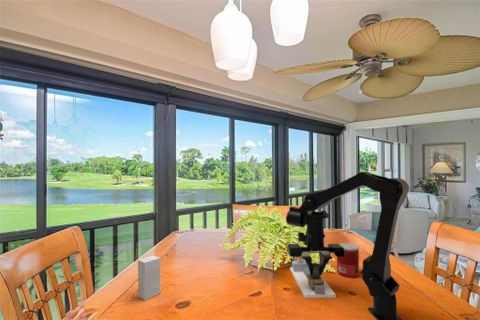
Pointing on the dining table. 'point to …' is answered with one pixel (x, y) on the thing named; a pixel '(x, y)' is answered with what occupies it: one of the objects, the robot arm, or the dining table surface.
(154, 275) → the skincare box
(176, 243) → the dining table surface
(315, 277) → the carriage
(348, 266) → the canned food
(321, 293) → the plate
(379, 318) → the robot arm
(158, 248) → the dining table surface
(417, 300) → the dining table surface
